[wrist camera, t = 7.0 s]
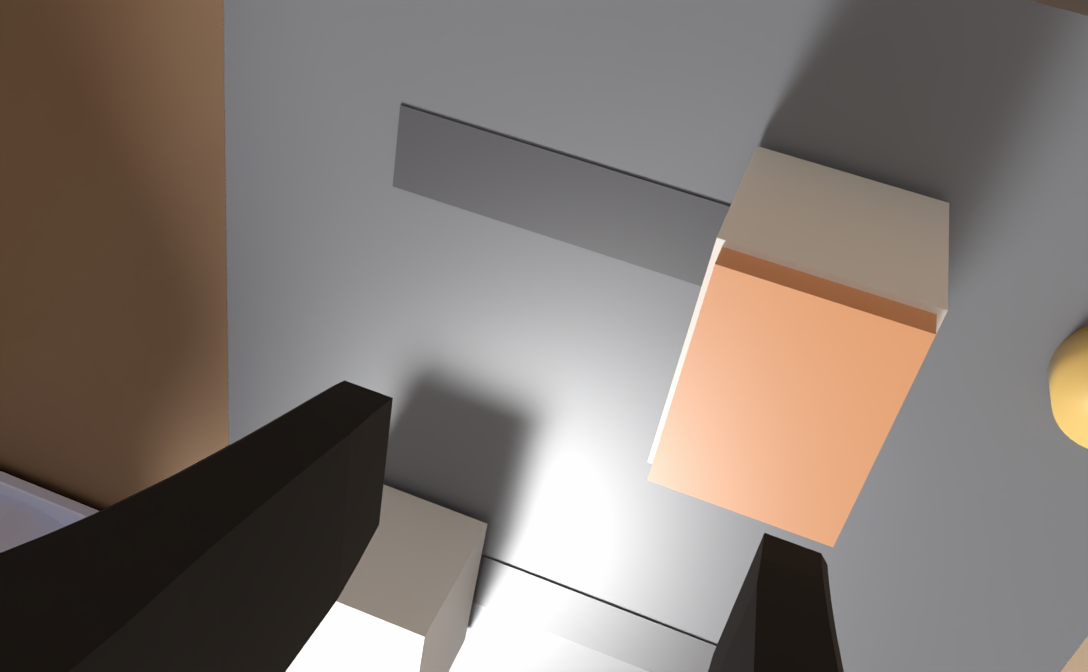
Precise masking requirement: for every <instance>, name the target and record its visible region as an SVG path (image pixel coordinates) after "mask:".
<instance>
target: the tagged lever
mask: <svg viewBox="0 0 1088 672" xmlns="http://www.w3.org/2000/svg"><path fill="white" fill-rule="evenodd" d="M948 266H949V203H948V202H944V201H941V200H938V199H934V198H931V197H928V196H924V195H921V194H917V193H914V192H911V191H907V190H904V189H901V188H897V187H894V186H891V185H887V184H884V183H880V182H877V181H874V180H870V179H867V178H864V177H860V176H857V175H853V174H850V173H847V172H843V171H840V170H837V169H833V168H830V167H826V166H823V165H820V164H816V163H813V162H810V161H806V160H803V159H800V158H796V157H793V156H789V155H786V154H783V153H779V152H776V151H773V150H769V149H766V148H762V147H759V146H756V148H755V150H754V152H753V155H752V157H751V159H750V162H749V164H748V166H747V168H746V171H745V173H744V175H743V178H742V180H741V182H740V185H739V187H738V189H737V192H736V194H735V196H734V199H733V201H732V203H731V206H730V208H729V210H728V213H727V215H726V217H725V220H724V222H723V224H722V227H721V229H720V231H719V233H718V236H717V238H716V242H715V245H714V248H713V251H712V254H711V258H710V261H709V264H708V267H707V271H706V274H705V277H704V280H703V284H702V287H701V290H700V293H699V297H698V300H697V303H696V306H695V309H694V313H693V316H692V319H691V322H690V326H689V329H688V332H687V335H686V339H685V342H684V345H683V348H682V351H681V355H680V358H679V361H678V364H677V368H676V371H675V374H674V377H673V381H672V384H671V387H670V390H669V393H668V397H667V400H666V403H665V406H664V410H663V413H662V416H661V419H660V423H659V426H658V429H657V432H656V436H655V439H654V442H653V445H652V448H651V452H650V455H649V458H648V461H647V462H648V463H650V464H652V466H651V469H650V472H649V476H648V479H647V480H648V481H650V482H653V483H656V484H659V485H661V486H664V487H667V488H670V489H673V490H675V491H678V492H681V493H684V494H686V495H689V496H692V497H695V498H697V499H700V500H703V501H706V502H709V503H711V504H714V505H717V506H720V507H722V508H725V509H728V510H731V511H734V512H736V513H739V514H742V515H745V516H747V517H750V518H753V519H756V520H758V521H761V522H764V523H767V524H770V525H772V526H775V527H778V528H781V529H783V530H786V531H789V532H792V533H794V534H797V535H800V536H803V537H806V538H808V539H811V540H814V541H817V542H819V543H822V544H825V545H828V546H830V547H834V545H835V542H836V540H837V538H838V536H839V534H840V532H841V530H842V528H843V526H844V524H845V522H846V520H847V518H848V516H849V514H850V511H851V509H852V507H853V505H854V503H855V501H856V499H857V497H858V495H859V493H860V491H861V489H862V487H863V485H864V483H865V481H866V478H867V476H868V474H869V472H870V470H871V468H872V466H873V464H874V462H875V460H876V458H877V456H878V454H879V452H880V450H881V447H882V445H883V443H884V441H885V439H886V437H887V435H888V433H889V431H890V429H891V427H892V425H893V423H894V421H895V419H896V416H897V414H898V412H899V410H900V408H901V406H902V404H903V402H904V400H905V398H906V396H907V394H908V392H909V390H910V388H911V386H912V383H913V381H914V379H915V377H916V375H917V373H918V371H919V369H920V367H921V365H922V363H923V361H924V359H925V357H926V355H927V352H928V350H929V348H930V346H931V344H932V342H933V340H934V338H935V336H936V334H937V332H938V330H939V328H940V326H941V324H942V321H943V319H944V317H945V315H946V313H947V311H948Z"/></svg>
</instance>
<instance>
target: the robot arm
mask: <svg viewBox="0 0 1088 672" xmlns="http://www.w3.org/2000/svg"><path fill="white" fill-rule="evenodd" d="M392 401H393V398H392V397H389V396H386V395H383V394H381V393H378V392H375V391H372V390H370V389H367V388H364V387H361V386H359V385H356V384H353V383H350V382H348V381H345V380H344V381H342V382H340V383H338V384H336V385H334V386H332V387H330V388H328V389H327V390H325V391H323V392H321V393H320V394H318V395H316V396H314V397H313V398H311V399H309V400H308V401H306V402H304V403H302V404H301V405H299V406H297V407H295V408H294V409H292V410H290V411H289V412H287V413H285V414H283V415H282V416H280V417H278V418H277V419H275V420H273V421H271V422H270V423H268V424H266V425H264V426H263V427H261V428H259V429H257V430H256V431H254V432H252V433H250V434H249V435H247V436H245V437H243V438H242V439H240V440H238V441H236V442H234V443H232V444H231V445H229V446H227V447H225V448H223V449H221V450H219V451H218V452H216V453H214V454H212V455H210V456H208V457H207V458H205V459H203V460H201V461H199V462H197V463H195V464H194V465H192V466H190V467H188V468H186V469H184V470H183V471H181V472H179V473H177V474H175V475H173V476H171V477H169V478H167V479H165V480H163V481H161V482H159V483H157V484H155V485H153V486H151V487H149V488H146V489H144V490H142V491H140V492H138V493H136V494H134V495H132V496H130V497H128V498H126V499H124V500H122V501H120V502H118V503H116V504H113V505H111V506H109V507H107V508H105V509H103V510H101V511H98V510H96V509H93V508H91V507H88V506H86V505H84V504H81V503H79V502H76V501H74V500H71V499H69V498H66V497H64V496H61V495H59V494H56V493H54V492H51V491H49V490H47V489H44V488H42V487H39V486H37V485H34V484H32V483H29V482H27V481H24V480H22V479H19V478H17V477H14V476H12V475H9V474H7V473H5V472H2V471H0V672H286V670H287V669H288V667H289V666H290V665H291V663H292V662H293V661H294V659H295V658H296V657H297V655H298V654H299V652H300V651H301V650H302V648H303V647H304V646H305V644H306V643H307V641H308V640H309V639H310V637H311V636H312V634H313V633H314V632H315V630H316V629H317V628H318V626H319V625H320V623H321V622H322V621H323V619H324V618H325V616H326V615H327V614H328V612H329V611H330V609H331V608H332V607H333V605H334V604H335V602H336V601H337V600H338V598H339V596H340V594H341V593H342V591H343V589H344V587H345V586H346V584H347V582H348V580H349V579H350V577H351V575H352V573H353V572H354V570H355V568H356V566H357V565H358V563H359V561H360V559H361V557H362V555H363V554H364V552H365V550H366V548H367V546H368V544H369V543H370V541H371V539H372V537H373V535H374V533H375V531H376V530H377V528H378V526H379V521H380V512H381V503H382V493H383V484H384V475H385V466H386V456H387V447H388V438H389V429H390V419H391V410H392ZM708 672H844V670H843V665H842V660H841V655H840V650H839V644H838V639H837V634H836V628H835V622H834V616H833V609H832V602H831V594H830V586H829V576H828V565H827V563H826V561H825V559H824V557H823V556H822V554H821V553H819V552H816V551H814V550H811V549H808V548H805V547H803V546H800V545H797V544H794V543H792V542H789V541H786V540H783V539H780V538H778V537H775V536H772V535H769V534H767V533H764V535H763V537H762V540H761V542H760V544H759V547H758V549H757V551H756V554H755V556H754V559H753V561H752V563H751V566H750V568H749V570H748V573H747V575H746V578H745V580H744V582H743V585H742V587H741V589H740V592H739V594H738V596H737V599H736V601H735V604H734V606H733V608H732V611H731V613H730V615H729V618H728V620H727V623H726V625H725V627H724V630H723V632H722V634H721V637H720V639H719V641H718V644H717V646H716V649H715V651H714V653H713V656H712V660H711V663H710V667H709V670H708Z"/></svg>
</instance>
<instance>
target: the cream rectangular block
mask: <svg viewBox="0 0 1088 672" xmlns="http://www.w3.org/2000/svg"><path fill="white" fill-rule="evenodd" d="M486 529H487V523H484V522H482V521H479V520H476V519H474V518H471V517H468V516H466V515H463V514H460V513H458V512H455V511H453V510H450V509H447V508H445V507H442V506H439V505H437V504H434V503H431V502H429V501H426V500H424V499H421V498H418V497H416V496H413V495H410V494H408V493H405V492H402V491H400V490H397V489H395V488H392V487H389V486H387V485H384V484H383V493H382V503H381V512H380V521H379V526H378V528H377V530H376V531H375V533H374V535H373V537H372V539H371V541H370V543H369V544H368V546H367V548H366V550H365V552H364V554H363V555H362V557H361V559H360V561H359V563H358V565H357V566H356V568H355V570H354V572H353V573H352V575H351V577H350V579H349V580H348V582H347V584H346V586H345V587H344V589H343V591H342V593H341V594H340V596H339V598H338V600H337V601H336V602H335V604H334V605H333V607H332V608H331V609H330V611H329V612H328V614H327V615H326V616H325V618H324V619H323V621H322V622H321V623H320V625H319V626H318V628H317V629H316V630H315V632H314V633H313V634H312V636H311V637H310V639H309V640H308V641H307V643H306V644H305V646H304V647H303V648H302V650H301V651H300V652H299V654H298V655H297V657H296V658H295V659H294V661H293V662H292V663H291V665H290V666H289V667H288V669H287V670H286V672H449V670H450V668H451V666H452V664H453V662H454V660H455V658H456V656H457V654H458V652H459V650H460V648H461V647H462V645H463V643H464V641H465V637H466V632H467V626H468V621H469V616H470V611H471V606H472V601H473V596H474V591H475V586H476V580H477V575H478V570H479V565H480V560H481V555H482V550H483V545H484V540H485V534H486Z"/></svg>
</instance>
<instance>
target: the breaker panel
mask: <svg viewBox="0 0 1088 672" xmlns="http://www.w3.org/2000/svg"><path fill="white" fill-rule="evenodd" d="M223 8H224V87H225V167H226V246H227V326H228V405H229V445H231V444H232V443H234V442H236V441H238V440H240V439H242V438H243V437H245V436H247V435H249V434H250V433H252V432H254V431H256V430H257V429H259V428H261V427H263V426H264V425H266V424H268V423H270V422H271V421H273V420H275V419H277V418H278V417H280V416H282V415H283V414H285V413H287V412H289V411H290V410H292V409H294V408H295V407H297V406H299V405H301V404H302V403H304V402H306V401H308V400H309V399H311V398H313V397H314V396H316V395H318V394H320V393H321V392H323V391H325V390H327V389H328V388H330V387H332V386H334V385H336V384H338V383H340V382H342V381H344V380H345V381H348V382H350V383H353V384H356V385H359V386H361V387H364V388H367V389H370V390H372V391H375V392H378V393H381V394H383V395H386V396H389V397H392V398H393V401H392V410H391V419H390V429H389V438H388V447H387V456H386V466H385V475H384V485H387V486H389V487H392V488H395V489H397V490H400V491H402V492H405V493H408V494H410V495H413V496H416V497H418V498H421V499H424V500H426V501H429V502H431V503H434V504H437V505H439V506H442V507H445V508H447V509H450V510H453V511H455V512H458V513H460V514H463V515H466V516H468V517H471V518H474V519H476V520H479V521H482V522H484V523H487V529H486V534H485V540H484V545H483V550H482V555H481V560H480V565H479V570H478V575H477V580H476V586H475V591H474V596H473V601H472V606H471V611H470V616H469V621H468V626H467V632H466V637H465V641H464V643H463V645H462V647H461V648H460V650H459V652H458V654H457V656H456V658H455V660H454V662H453V664H452V666H451V668H450V670H449V672H708V670H709V667H710V663H711V660H712V656H713V653H714V651H715V649H716V646H717V644H718V641H719V639H720V637H721V634H722V632H723V630H724V627H725V625H726V623H727V620H728V618H729V615H730V613H731V611H732V608H733V606H734V604H735V601H736V599H737V596H738V594H739V592H740V589H741V587H742V585H743V582H744V580H745V578H746V575H747V573H748V570H749V568H750V566H751V563H752V561H753V559H754V556H755V554H756V551H757V549H758V547H759V544H760V542H761V540H762V537H763V535H764V533H767V534H769V535H772V536H775V537H778V538H780V539H783V540H786V541H789V542H792V543H794V544H797V545H800V546H803V547H805V548H808V549H811V550H814V551H816V552H819V553H821V554H822V556H823V557H824V559H825V561H826V563H827V565H828V576H829V586H830V594H831V602H832V609H833V616H834V622H835V628H836V634H837V639H838V644H839V650H840V655H841V660H842V665H843V670H844V672H1061V670H1062V669H1063V668H1064V666H1065V665H1066V664H1067V662H1068V661H1069V660H1070V658H1071V657H1072V656H1073V654H1074V653H1075V652H1076V650H1077V649H1078V648H1079V646H1080V645H1081V644H1082V642H1083V641H1084V640H1085V638H1086V637H1087V636H1088V0H223ZM756 146H759V147H762V148H766V149H769V150H773V151H776V152H779V153H783V154H786V155H789V156H793V157H796V158H800V159H803V160H806V161H810V162H813V163H816V164H820V165H823V166H826V167H830V168H833V169H837V170H840V171H843V172H847V173H850V174H853V175H857V176H860V177H864V178H867V179H870V180H874V181H877V182H880V183H884V184H887V185H891V186H894V187H897V188H901V189H904V190H907V191H911V192H914V193H917V194H921V195H924V196H928V197H931V198H934V199H938V200H941V201H944V202H948V203H949V266H948V311H947V313H946V315H945V317H944V319H943V321H942V324H941V326H940V328H939V330H938V332H937V334H936V336H935V338H934V340H933V342H932V344H931V346H930V348H929V350H928V352H927V355H926V357H925V359H924V361H923V363H922V365H921V367H920V369H919V371H918V373H917V375H916V377H915V379H914V381H913V383H912V386H911V388H910V390H909V392H908V394H907V396H906V398H905V400H904V402H903V404H902V406H901V408H900V410H899V412H898V414H897V416H896V419H895V421H894V423H893V425H892V427H891V429H890V431H889V433H888V435H887V437H886V439H885V441H884V443H883V445H882V447H881V450H880V452H879V454H878V456H877V458H876V460H875V462H874V464H873V466H872V468H871V470H870V472H869V474H868V476H867V478H866V481H865V483H864V485H863V487H862V489H861V491H860V493H859V495H858V497H857V499H856V501H855V503H854V505H853V507H852V509H851V511H850V514H849V516H848V518H847V520H846V522H845V524H844V526H843V528H842V530H841V532H840V534H839V536H838V538H837V540H836V542H835V545H834V547H830V546H828V545H825V544H822V543H819V542H817V541H814V540H811V539H808V538H806V537H803V536H800V535H797V534H794V533H792V532H789V531H786V530H783V529H781V528H778V527H775V526H772V525H770V524H767V523H764V522H761V521H758V520H756V519H753V518H750V517H747V516H745V515H742V514H739V513H736V512H734V511H731V510H728V509H725V508H722V507H720V506H717V505H714V504H711V503H709V502H706V501H703V500H700V499H697V498H695V497H692V496H689V495H686V494H684V493H681V492H678V491H675V490H673V489H670V488H667V487H664V486H661V485H659V484H656V483H653V482H650V481H648V480H647V479H648V476H649V472H650V469H651V466H652V464H650V463H648V462H647V461H648V458H649V455H650V452H651V448H652V445H653V442H654V439H655V436H656V432H657V429H658V426H659V423H660V419H661V416H662V413H663V410H664V406H665V403H666V400H667V397H668V393H669V390H670V387H671V384H672V381H673V377H674V374H675V371H676V368H677V364H678V361H679V358H680V355H681V351H682V348H683V345H684V342H685V339H686V335H687V332H688V329H689V326H690V322H691V319H692V316H693V313H694V309H695V306H696V303H697V300H698V297H699V293H700V290H701V287H702V284H703V280H704V277H705V274H706V271H707V267H708V264H709V261H710V258H711V254H712V251H713V248H714V245H715V242H716V238H717V236H718V233H719V231H720V229H721V227H722V224H723V222H724V220H725V217H726V215H727V213H728V210H729V208H730V206H731V203H732V201H733V199H734V196H735V194H736V192H737V189H738V187H739V185H740V182H741V180H742V178H743V175H744V173H745V171H746V168H747V166H748V164H749V162H750V159H751V157H752V155H753V152H754V150H755V148H756Z"/></svg>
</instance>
